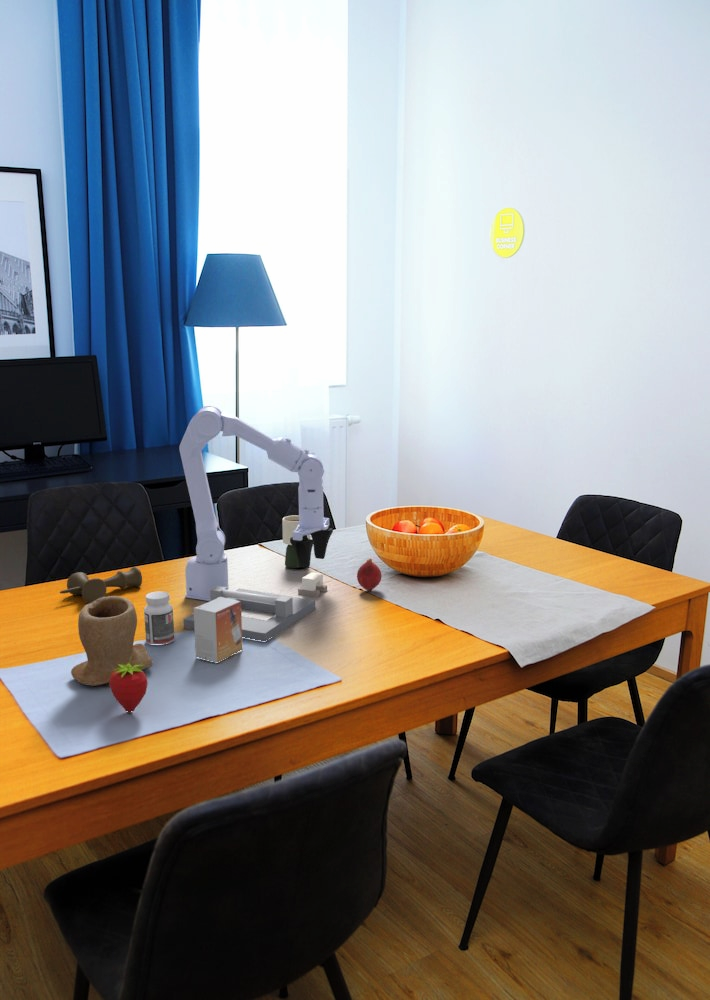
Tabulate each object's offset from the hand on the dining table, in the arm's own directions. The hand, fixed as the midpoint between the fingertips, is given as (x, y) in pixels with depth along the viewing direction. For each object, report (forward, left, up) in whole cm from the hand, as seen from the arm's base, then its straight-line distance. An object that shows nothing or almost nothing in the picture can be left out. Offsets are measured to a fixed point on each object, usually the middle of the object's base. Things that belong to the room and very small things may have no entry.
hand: (312, 562), depth 210 cm
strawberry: (+1, -68, -7) cm, 68 cm away
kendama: (-45, -22, -8) cm, 51 cm away
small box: (+1, -41, -8) cm, 42 cm away
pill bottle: (-14, -40, -8) cm, 43 cm away
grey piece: (-4, -21, -7) cm, 23 cm away
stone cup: (-11, -57, -8) cm, 59 cm away
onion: (+12, +6, -7) cm, 15 cm away
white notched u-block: (0, 0, -7) cm, 7 cm away
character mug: (-13, +16, -8) cm, 22 cm away
